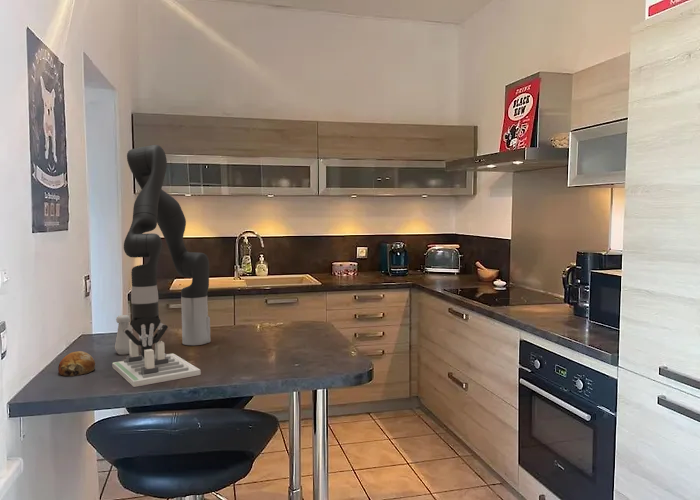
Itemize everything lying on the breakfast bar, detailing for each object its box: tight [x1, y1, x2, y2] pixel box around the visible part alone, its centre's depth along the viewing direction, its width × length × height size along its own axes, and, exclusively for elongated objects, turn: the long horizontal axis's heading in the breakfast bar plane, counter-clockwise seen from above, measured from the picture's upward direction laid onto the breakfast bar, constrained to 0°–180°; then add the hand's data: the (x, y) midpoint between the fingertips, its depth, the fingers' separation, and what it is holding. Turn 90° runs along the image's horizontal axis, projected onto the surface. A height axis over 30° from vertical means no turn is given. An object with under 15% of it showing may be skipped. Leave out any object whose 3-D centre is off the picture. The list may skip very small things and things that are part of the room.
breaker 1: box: [125, 339, 142, 363], centre depth 173 cm, size 4×3×7 cm
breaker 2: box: [141, 348, 158, 376], centre depth 160 cm, size 4×3×7 cm
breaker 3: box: [154, 340, 168, 365], centre depth 169 cm, size 4×3×7 cm
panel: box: [112, 353, 202, 388], centre depth 169 cm, size 19×24×2 cm
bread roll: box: [57, 350, 96, 377], centre depth 169 cm, size 10×10×8 cm
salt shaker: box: [114, 314, 131, 356], centre depth 190 cm, size 6×6×13 cm
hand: (146, 357), depth 167 cm, fingers closed
